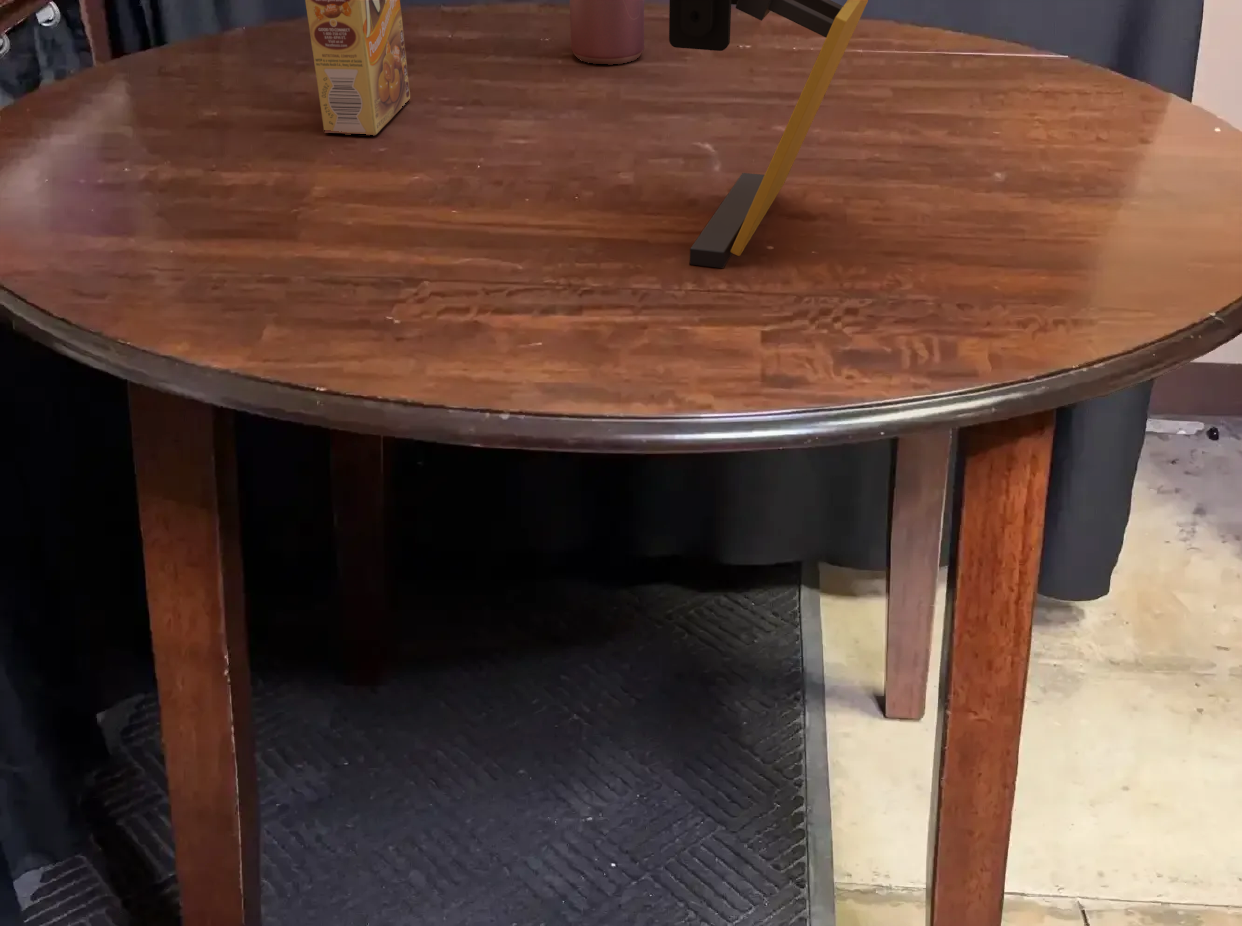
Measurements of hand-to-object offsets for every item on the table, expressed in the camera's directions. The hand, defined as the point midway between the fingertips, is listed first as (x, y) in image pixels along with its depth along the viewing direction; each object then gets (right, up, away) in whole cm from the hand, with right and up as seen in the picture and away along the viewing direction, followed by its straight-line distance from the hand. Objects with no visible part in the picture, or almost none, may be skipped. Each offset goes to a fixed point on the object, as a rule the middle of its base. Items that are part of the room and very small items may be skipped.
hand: (721, 24), depth 78 cm
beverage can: (-7, +12, +37) cm, 39 cm away
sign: (+5, -4, +1) cm, 7 cm away
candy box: (-24, +3, +24) cm, 34 cm away
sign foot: (+1, -10, +7) cm, 12 cm away
